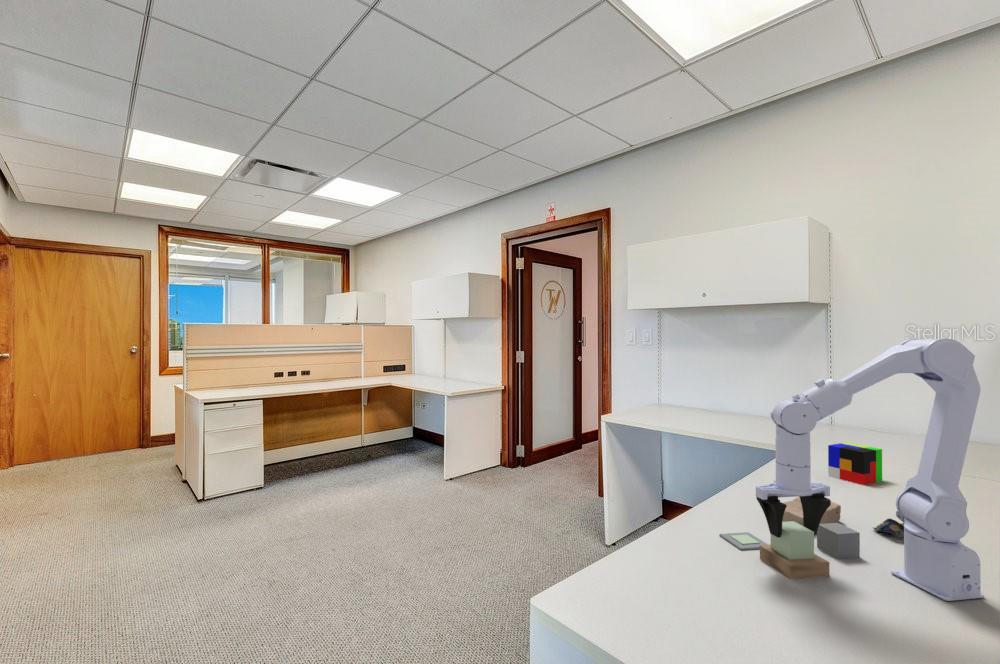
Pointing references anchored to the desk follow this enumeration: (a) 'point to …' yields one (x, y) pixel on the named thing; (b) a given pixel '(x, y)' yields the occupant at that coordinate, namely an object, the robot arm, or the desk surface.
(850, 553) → the charcoal block
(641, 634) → the desk surface
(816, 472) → the desk surface
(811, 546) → the sage block
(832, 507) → the brick
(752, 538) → the plaque
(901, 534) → the snack package
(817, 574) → the light brown block
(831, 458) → the puzzle toy
